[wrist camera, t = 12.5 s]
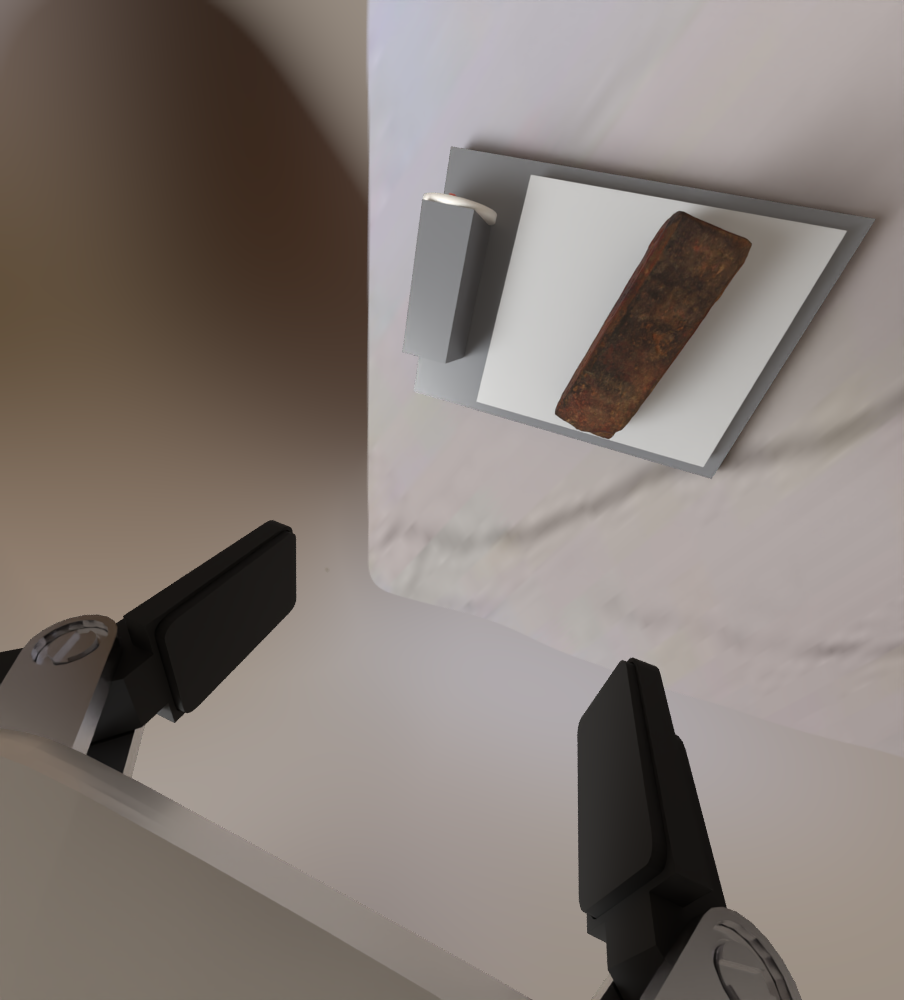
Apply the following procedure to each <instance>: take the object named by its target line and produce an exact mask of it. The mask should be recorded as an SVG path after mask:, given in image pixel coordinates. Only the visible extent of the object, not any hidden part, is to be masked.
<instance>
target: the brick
mask: <svg viewBox="0 0 904 1000" xmlns="http://www.w3.org/2000/svg"><path fill="white" fill-rule="evenodd" d="M751 246H752V243H751V242H750V241H749V240H748V239H747V238H745V237H742V236H739V235H736V234H734V233H731V232H729V231H726V230H724V229H722V228H719V227H717V226H715V225H713V224H710V223H708V222H705V221H703V220H701V219H698V218H696V217H694V216H692V215H690V214H688V213H686V212H684V211H677V212H676V213H674V214H673V215H672V216H671V217H670V218H669V219H667V220H666V222H665V223H664V224H663V225H662V226H661V228H660V229H659V231H658V232H657V234H656V235H655V237H654V238H653V240H652V241H651V243H650V244H649V246H648V250H647V251H646V253H645V255H644V257H643V259H642V260H641V262H640V264H639V265H638V266H637V268H636V269H635V271H634V273H633V274H632V276H631V278H630V280H629V281H628V283H627V284H626V286H625V288H624V290H623V292H622V293H621V295H620V297H619V299H618V300H617V302H616V303H615V305H614V307H613V308H612V310H611V312H610V313H609V315H608V317H607V318H606V320H605V322H604V324H603V325H602V327H601V329H600V331H599V332H598V334H597V336H596V337H595V339H594V341H593V342H592V344H591V346H590V348H589V349H588V351H587V353H586V354H585V356H584V358H583V359H582V361H581V363H580V364H579V366H578V368H577V369H576V371H575V373H574V374H573V376H572V378H571V380H570V381H569V383H568V385H567V387H566V388H565V390H564V392H563V393H562V395H561V398H560V400H559V402H558V403H557V406H556V408H555V415H556V416H558V417H559V418H561V419H562V420H563V421H566V422H567V423H569V424H571V425H572V426H573V427H575V428H576V429H577V430H580V431H583V432H590V433H591V434H594V435H596V436H600V437H602V438H606V439H610V438H612V437H613V436H614V434H615V433H616V432H618V431H621V430H623V428H624V427H625V426H626V425H627V424H628V423H629V422H630V420H631V419H632V417H633V416H634V415H635V414H636V413H637V411H638V410H639V408H640V407H641V405H642V404H643V403H644V401H645V400H646V399H647V397H648V396H649V395H650V394H651V392H652V391H653V389H654V388H655V387H656V385H657V384H658V382H659V381H660V380H661V378H662V377H663V375H664V374H665V373H666V371H667V370H668V369H669V367H670V366H671V364H672V363H673V362H674V360H675V359H676V358H677V356H678V355H679V353H680V352H681V351H682V349H683V348H684V346H685V345H686V343H687V342H688V341H689V340H690V338H691V337H692V335H693V334H694V333H695V331H696V330H697V328H698V327H699V325H700V324H701V322H702V321H703V320H704V319H705V317H706V316H707V314H708V312H709V311H710V309H711V308H712V306H713V305H714V304H715V302H716V301H718V300H719V298H720V297H721V296H722V294H723V292H724V291H725V289H726V288H727V286H728V285H729V283H730V282H731V280H732V279H733V278H734V276H735V275H736V273H737V272H738V271H739V270H740V268H741V267H742V266H743V264H744V263H745V260H746V258H747V257H748V254H749V251H750V248H751Z"/></svg>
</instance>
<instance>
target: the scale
mask: <svg viewBox="0 0 904 1000" xmlns="http://www.w3.org/2000/svg"><path fill="white" fill-rule="evenodd" d="M677 211H684V212H686V213H688V214H690V215H692V216H694V217H696V218H698V219H701V220H703V221H705V222H708V223H710V224H713V225H715V226H717V227H719V228H722V229H724V230H726V231H729V232H731V233H734V234H736V235H739V236H742V237H745V238H747V239H748V240H749V241H750V242H751V243H752V246H751V248H750V251H749V254H748V257H747V258H746V260H745V263H744V264H743V266H742V267H741V268H740V270H739V271H738V272H737V273H736V275H735V276H734V278H733V279H732V280H731V282H730V283H729V285H728V286H727V288H726V289H725V291H724V292H723V294H722V296H721V297H720V298H719V300H718V301H716V302H715V304H714V305H713V306H712V308H711V309H710V311H709V312H708V314H707V316H706V317H705V319H704V320H703V321H702V322H701V324H700V325H699V327H698V328H697V330H696V331H695V333H694V334H693V335H692V337H691V338H690V340H689V341H688V342H687V343H686V345H685V346H684V348H683V349H682V351H681V352H680V353H679V355H678V356H677V358H676V359H675V360H674V362H673V363H672V364H671V366H670V367H669V369H668V370H667V371H666V373H665V374H664V375H663V377H662V378H661V380H660V381H659V382H658V384H657V385H656V387H655V388H654V389H653V391H652V392H651V394H650V395H649V396H648V397H647V399H646V400H645V401H644V403H643V404H642V405H641V407H640V408H639V410H638V411H637V413H636V414H635V415H634V416H633V417H632V419H631V420H630V422H629V423H628V424H627V425H626V426H625V427H624V428H623V430H621V431H618V432H616V433H615V434H614V436H613V437H612V438H610V439H606V438H602V437H600V436H596V435H594V434H591V433H590V432H583V431H580V430H577V429H576V428H575V427H573V426H572V425H571V424H569V423H567V422H566V421H563V420H562V419H561V418H559V417H558V416H556V415H555V408H556V406H557V403H558V402H559V400H560V398H561V395H562V393H563V392H564V390H565V388H566V387H567V385H568V383H569V381H570V380H571V378H572V376H573V374H574V373H575V371H576V369H577V368H578V366H579V364H580V363H581V361H582V359H583V358H584V356H585V354H586V353H587V351H588V349H589V348H590V346H591V344H592V342H593V341H594V339H595V337H596V336H597V334H598V332H599V331H600V329H601V327H602V325H603V324H604V322H605V320H606V318H607V317H608V315H609V313H610V312H611V310H612V308H613V307H614V305H615V303H616V302H617V300H618V299H619V297H620V295H621V293H622V292H623V290H624V288H625V286H626V284H627V283H628V281H629V280H630V278H631V276H632V274H633V273H634V271H635V269H636V268H637V266H638V265H639V264H640V262H641V260H642V259H643V257H644V255H645V253H646V251H647V250H648V246H649V244H650V243H651V241H652V240H653V238H654V237H655V235H656V234H657V232H658V231H659V229H660V228H661V226H662V225H663V224H664V223H665V222H666V220H667V219H669V218H670V217H671V216H672V215H673V214H674V213H676V212H677ZM874 221H875V219H873V218H867V217H861V216H855V215H849V214H843V213H838V212H832V211H826V210H820V209H814V208H808V207H802V206H797V205H791V204H785V203H779V202H773V201H767V200H762V199H756V198H750V197H744V196H738V195H732V194H726V193H721V192H715V191H709V190H703V189H697V188H691V187H685V186H680V185H674V184H668V183H662V182H656V181H650V180H644V179H639V178H633V177H627V176H621V175H615V174H609V173H603V172H598V171H592V170H586V169H580V168H574V167H568V166H562V165H557V164H551V163H545V162H539V161H533V160H527V159H521V158H516V157H510V156H504V155H498V154H492V153H486V152H481V151H475V150H469V149H463V148H457V147H451V150H450V156H449V163H448V169H447V176H446V182H445V189H444V194H441V193H426V194H424V195H423V199H422V205H421V213H420V221H419V229H418V236H417V244H416V252H415V259H414V267H413V275H412V283H411V290H410V298H409V306H408V313H407V321H406V329H405V337H404V344H403V352H404V353H407V354H411V355H415V356H418V357H419V360H418V367H417V373H416V380H415V386H414V392H417V393H420V394H424V395H427V396H431V397H434V398H437V399H441V400H444V401H448V402H451V403H454V404H458V405H461V406H465V407H468V408H471V409H475V410H478V411H482V412H485V413H489V414H492V415H495V416H499V417H502V418H506V419H509V420H512V421H516V422H519V423H523V424H526V425H529V426H533V427H536V428H540V429H543V430H547V431H550V432H553V433H557V434H560V435H564V436H567V437H570V438H574V439H577V440H581V441H584V442H587V443H591V444H594V445H598V446H601V447H605V448H608V449H611V450H615V451H618V452H622V453H625V454H628V455H632V456H635V457H639V458H642V459H645V460H649V461H652V462H656V463H659V464H663V465H666V466H669V467H673V468H676V469H680V470H683V471H686V472H690V473H693V474H697V475H700V476H703V477H707V478H710V479H712V477H713V476H714V474H715V473H716V471H717V469H718V468H719V466H720V465H721V463H722V461H723V460H724V458H725V457H726V455H727V454H728V452H729V450H730V449H731V447H732V446H733V444H734V442H735V441H736V439H737V438H738V436H739V435H740V433H741V431H742V430H743V428H744V427H745V425H746V423H747V422H748V420H749V419H750V417H751V416H752V414H753V412H754V411H755V409H756V408H757V406H758V404H759V403H760V401H761V400H762V398H763V397H764V395H765V393H766V392H767V390H768V389H769V387H770V385H771V384H772V382H773V381H774V379H775V378H776V376H777V374H778V373H779V371H780V370H781V368H782V367H783V365H784V363H785V362H786V360H787V359H788V357H789V355H790V354H791V352H792V351H793V349H794V348H795V346H796V344H797V343H798V341H799V340H800V338H801V336H802V335H803V333H804V332H805V330H806V329H807V327H808V325H809V324H810V322H811V321H812V319H813V317H814V316H815V314H816V313H817V311H818V310H819V308H820V306H821V305H822V303H823V302H824V300H825V298H826V297H827V295H828V294H829V292H830V291H831V289H832V287H833V286H834V284H835V283H836V281H837V279H838V278H839V276H840V275H841V273H842V272H843V270H844V268H845V267H846V265H847V264H848V262H849V260H850V259H851V257H852V256H853V254H854V253H855V251H856V249H857V248H858V246H859V245H860V243H861V242H862V240H863V238H864V237H865V235H866V234H867V232H868V230H869V229H870V227H871V226H872V224H873V223H874Z"/></svg>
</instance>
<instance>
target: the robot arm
mask: <svg viewBox="0 0 904 1000" xmlns="http://www.w3.org/2000/svg"><path fill="white" fill-rule="evenodd" d="M295 602H296V536H295V534H293V532H292V529H291V527H289V526H286V525H284V524H281V523H279V522H276V521H273V520H270V521H268V522H266V523H264V524H263V525H261V526H260V527H258V528H257V529H255V530H254V531H252V532H251V533H249V534H248V535H246V536H244V537H243V538H241V539H240V540H238V541H237V542H235V543H234V544H232V545H231V546H229V547H228V548H226V549H225V550H223V551H222V552H220V553H218V554H217V555H215V556H214V557H212V558H211V559H209V560H208V561H206V562H205V563H203V564H202V565H200V566H199V567H197V568H196V569H194V570H193V571H191V572H190V573H188V574H186V575H185V576H183V577H182V578H180V579H179V580H177V581H176V582H174V583H173V584H171V585H170V586H168V587H167V588H165V589H164V590H162V591H160V592H159V593H157V594H156V595H154V596H153V597H151V598H150V599H148V600H147V601H145V602H144V603H142V604H141V605H139V606H138V607H136V608H135V609H133V610H132V611H130V612H128V613H127V614H126V615H124V616H123V617H124V618H123V619H122V620H120V621H119V622H118V623H115V621H114V620H112V619H111V618H109V617H107V616H102V615H82V616H78V617H73V618H69V619H66V620H63V621H61V622H58V623H56V624H54V625H52V626H50V627H48V628H46V629H44V630H42V631H41V632H40V633H38V634H37V635H36V636H34V637H33V638H32V639H30V641H29V642H28V643H27V644H26V645H25V647H24V648H21V649H16V650H10V651H5V652H0V1000H532V999H530V998H528V997H526V996H524V995H523V994H521V993H519V992H518V991H516V990H514V989H513V988H511V987H509V986H508V985H506V984H504V983H502V982H500V981H499V980H497V979H495V978H494V977H492V976H490V975H489V974H487V973H485V972H483V971H481V970H479V969H478V968H476V967H474V966H472V965H471V964H469V963H467V962H465V961H463V960H462V959H460V958H458V957H456V956H454V955H453V954H451V953H449V952H447V951H445V950H443V949H442V948H440V947H438V946H436V945H435V944H433V943H431V942H429V941H428V940H426V939H424V938H422V937H420V936H419V935H417V934H415V933H413V932H411V931H409V930H408V929H406V928H404V927H402V926H401V925H399V924H397V923H395V922H393V921H392V920H390V919H388V918H386V917H384V916H382V915H381V914H379V913H377V912H375V911H374V910H372V909H370V908H368V907H366V906H365V905H363V904H361V903H359V902H357V901H355V900H354V899H352V898H350V897H348V896H346V895H345V894H343V893H341V892H339V891H337V890H336V889H334V888H332V887H330V886H328V885H326V884H325V883H323V882H321V881H319V880H317V879H316V878H314V877H312V876H310V875H308V874H307V873H305V872H303V871H301V870H299V869H297V868H296V867H294V866H292V865H290V864H288V863H287V862H285V861H283V860H281V859H279V858H277V857H276V856H274V855H272V854H270V853H268V852H266V851H265V850H263V849H261V848H259V847H257V846H255V845H254V844H252V843H250V842H248V841H247V840H245V839H243V838H241V837H239V836H237V835H236V834H234V833H232V832H230V831H228V830H226V829H225V828H223V827H221V826H219V825H217V824H215V823H214V822H212V821H210V820H208V819H206V818H204V817H202V816H201V815H199V814H197V813H195V812H193V811H191V810H190V809H188V808H186V807H184V806H182V805H180V804H179V803H177V802H175V801H173V800H171V799H169V798H167V797H165V796H164V795H162V794H160V793H158V792H156V791H155V790H153V789H151V788H149V787H147V786H145V785H143V784H142V783H140V782H138V781H136V780H134V779H132V778H131V777H132V773H133V770H134V765H135V762H136V758H137V754H138V750H139V746H140V743H141V739H142V734H143V731H144V727H145V724H146V723H147V722H148V721H149V720H150V719H151V718H153V717H154V716H155V715H156V714H158V715H160V716H162V717H164V718H166V719H168V720H170V721H172V722H174V723H175V722H176V721H177V720H178V719H179V718H180V717H181V716H182V715H183V714H184V713H189V712H192V711H193V710H194V709H196V708H197V707H198V706H199V705H200V704H201V703H202V702H203V701H204V700H205V699H206V698H207V697H208V695H210V694H211V693H212V691H214V689H215V688H216V687H217V686H218V685H219V684H220V683H221V682H222V681H223V680H224V679H225V678H226V677H227V676H228V675H229V674H230V673H231V672H232V671H233V670H234V669H235V668H236V667H237V666H238V665H239V664H240V663H241V662H242V661H243V660H244V659H245V658H246V657H247V656H248V655H249V653H250V652H252V650H253V649H254V648H255V647H256V646H257V645H258V644H259V643H260V642H261V641H262V640H263V639H264V638H265V637H266V636H267V635H268V634H269V633H270V632H271V631H272V630H273V629H274V628H275V627H276V626H277V624H279V623H280V622H281V621H282V620H283V619H284V618H285V617H286V615H288V614H289V613H290V611H291V610H292V609H293V607H294V605H295ZM577 736H578V737H577V738H578V852H579V853H578V858H579V903H580V907H581V910H582V911H583V912H585V913H587V933H588V934H590V935H592V936H594V937H596V938H598V939H600V940H602V941H604V942H606V944H607V964H608V971H609V975H608V976H607V978H606V979H605V980H604V982H603V983H602V985H601V986H600V988H599V989H598V991H597V992H596V994H595V995H594V996H593V998H592V999H591V1000H802V999H801V996H800V994H799V991H798V989H797V986H796V984H795V981H794V980H793V978H792V976H791V974H790V972H789V971H788V969H787V967H786V965H785V964H784V962H783V960H782V958H781V957H780V955H779V954H778V953H777V951H776V950H775V949H774V947H773V946H772V944H771V943H770V942H769V940H768V939H767V938H766V937H765V936H764V935H763V934H762V933H761V932H760V931H759V930H758V929H757V928H756V927H755V926H754V924H752V923H751V922H750V921H749V920H747V919H746V918H745V917H743V916H742V915H740V914H739V913H737V912H736V911H733V910H730V909H727V907H726V903H725V899H724V895H723V892H722V888H721V884H720V880H719V876H718V872H717V868H716V865H715V861H714V857H713V853H712V849H711V845H710V842H709V838H708V834H707V830H706V826H705V822H704V818H703V815H702V811H701V807H700V803H699V799H698V795H697V792H696V788H695V784H694V780H693V776H692V772H691V768H690V765H689V761H688V757H687V753H686V750H685V747H684V744H683V742H682V741H681V739H680V738H679V736H677V735H675V732H674V728H673V724H672V720H671V716H670V712H669V708H668V703H667V699H666V695H665V691H664V687H663V683H662V679H661V675H660V671H659V669H658V668H657V667H656V666H653V665H651V664H648V663H646V662H643V661H640V660H638V659H635V658H630V659H629V660H628V661H627V662H626V661H624V660H622V661H620V662H619V664H618V665H617V667H616V668H615V670H614V671H613V672H612V674H611V675H610V677H609V678H608V680H607V681H606V683H605V684H604V686H603V687H602V688H601V690H600V691H599V693H598V694H597V696H596V697H595V699H594V700H593V702H592V703H591V705H590V706H589V707H588V709H587V710H586V712H585V713H584V715H583V716H582V718H581V720H580V722H579V726H578V734H577Z"/></svg>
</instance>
